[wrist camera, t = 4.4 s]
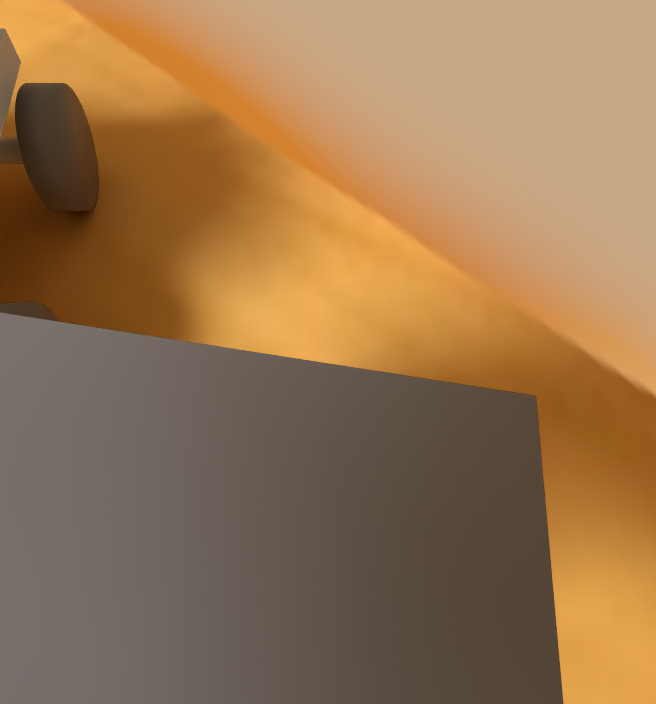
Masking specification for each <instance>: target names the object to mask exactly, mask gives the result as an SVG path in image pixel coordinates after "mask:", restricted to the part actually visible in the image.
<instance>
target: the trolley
mask: <svg viewBox="0 0 656 704" xmlns="http://www.w3.org/2000/svg"><path fill="white" fill-rule="evenodd" d="M20 64H21V61H20V59H19V57H18V55H17V53H16V51H15V49H14V46H13V44H12V42H11V40H10V38H9V36H8V34H7V32H6V30H5V29H0V164H24V165H25V168H26V171H27V174H28V176H29V179H30V181H31V183H32V185H33V187H34V189H35V191H36V193H37V195H38V196H39V198H40V199H41V201H42V202H43V203H44V204H45V205H46V206H47V207H48V208H49V209H50V210H52V211H55V212H65V211H90V210H92V209H93V208H94V207H95V205H96V202H97V197H98V185H99V181H98V166H97V159H96V153H95V147H94V143H93V138H92V134H91V131H90V127H89V124H88V121H87V118H86V115H85V113H84V110H83V108H82V105H81V103H80V101H79V99H78V98H77V96H76V94H75V93H74V91H73V90H72V89H71V88H70V87H69V86H68V85H67V84H65V83H25V84H23V85H22V86H21V87H20V89H19V90H18V93H17V97H16V104H15V122H16V131H17V138H1V135H2V131H3V128H4V124H5V120H6V116H7V113H8V109H9V105H10V101H11V97H12V94H13V90H14V86H15V82H16V79H17V75H18V71H19V67H20ZM0 313H6V314H13V315H19V316H26V317H32V318H38V319H45V320H51V321H58V320H57V318H56V317H55V315H54V314H53V313H52V312H51V311H50V309H48V308H47V307H46V306H45V305H43V304H41V303H38V302H18V303H1V304H0Z"/></svg>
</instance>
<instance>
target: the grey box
mask: <svg viewBox="0 0 656 704" xmlns="http://www.w3.org/2000/svg"><path fill="white" fill-rule="evenodd" d="M0 704H563V695H562V683H561V672H560V661H559V650H558V638H557V627H556V616H555V605H554V593H553V582H552V571H551V560H550V548H549V537H548V526H547V515H546V503H545V492H544V481H543V470H542V458H541V447H540V436H539V425H538V413H537V402H536V396H534V395H528V394H521V393H515V392H508V391H502V390H495V389H489V388H482V387H476V386H470V385H463V384H457V383H450V382H444V381H437V380H431V379H425V378H418V377H412V376H405V375H399V374H392V373H386V372H380V371H373V370H367V369H360V368H354V367H347V366H341V365H334V364H328V363H322V362H315V361H309V360H302V359H296V358H289V357H283V356H277V355H270V354H264V353H257V352H251V351H244V350H238V349H231V348H225V347H219V346H212V345H206V344H199V343H193V342H186V341H180V340H174V339H167V338H161V337H154V336H148V335H141V334H135V333H129V332H122V331H116V330H109V329H103V328H96V327H90V326H83V325H77V324H71V323H64V322H58V321H51V320H45V319H38V318H32V317H26V316H19V315H13V314H6V313H0Z"/></svg>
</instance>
